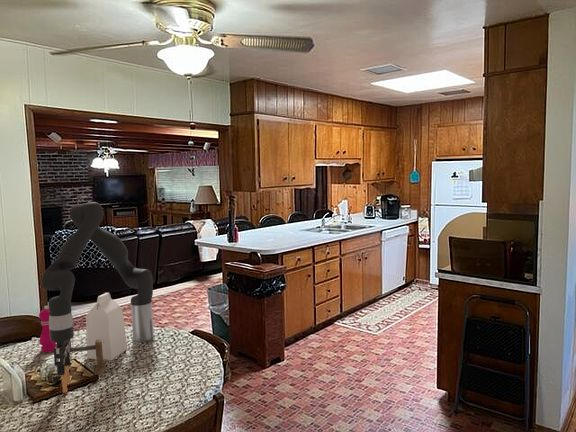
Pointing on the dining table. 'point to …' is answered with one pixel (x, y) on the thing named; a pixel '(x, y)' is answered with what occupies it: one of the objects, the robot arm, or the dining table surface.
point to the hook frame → (99, 355)
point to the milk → (106, 328)
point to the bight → (65, 379)
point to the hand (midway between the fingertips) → (64, 369)
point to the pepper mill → (46, 332)
